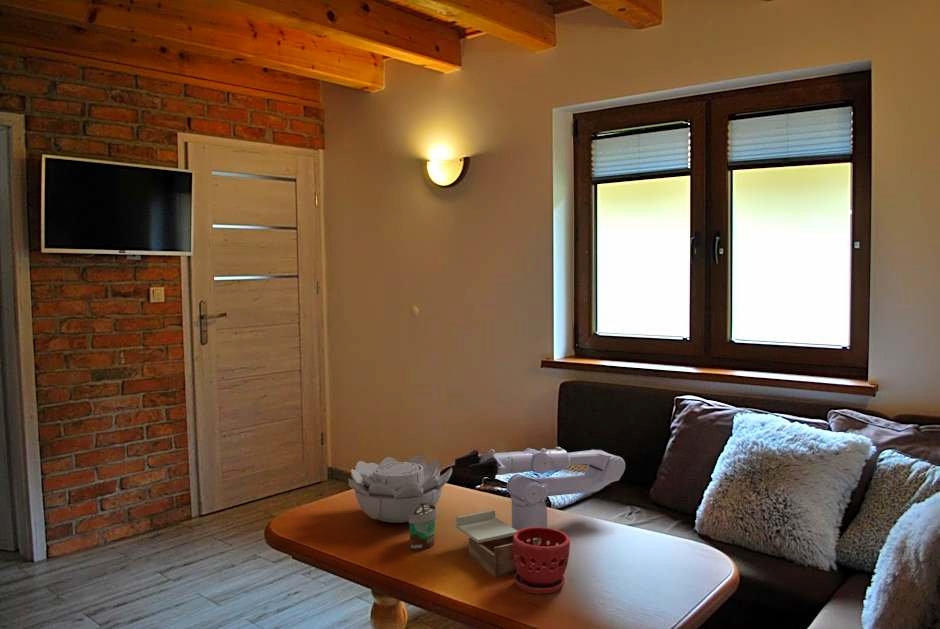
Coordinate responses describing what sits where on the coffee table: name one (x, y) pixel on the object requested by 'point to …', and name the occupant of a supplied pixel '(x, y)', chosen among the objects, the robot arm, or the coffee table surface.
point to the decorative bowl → (397, 487)
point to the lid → (483, 526)
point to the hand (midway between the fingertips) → (461, 466)
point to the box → (495, 555)
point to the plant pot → (540, 559)
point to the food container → (423, 526)
